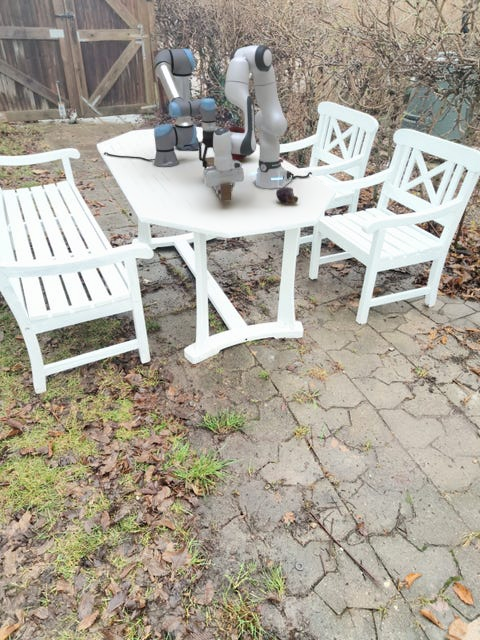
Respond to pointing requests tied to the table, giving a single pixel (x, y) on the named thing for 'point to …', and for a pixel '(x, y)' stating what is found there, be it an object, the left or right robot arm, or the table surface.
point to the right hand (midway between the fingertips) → (224, 192)
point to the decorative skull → (237, 130)
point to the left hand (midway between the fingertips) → (210, 172)
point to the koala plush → (189, 146)
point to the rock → (286, 195)
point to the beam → (224, 188)
